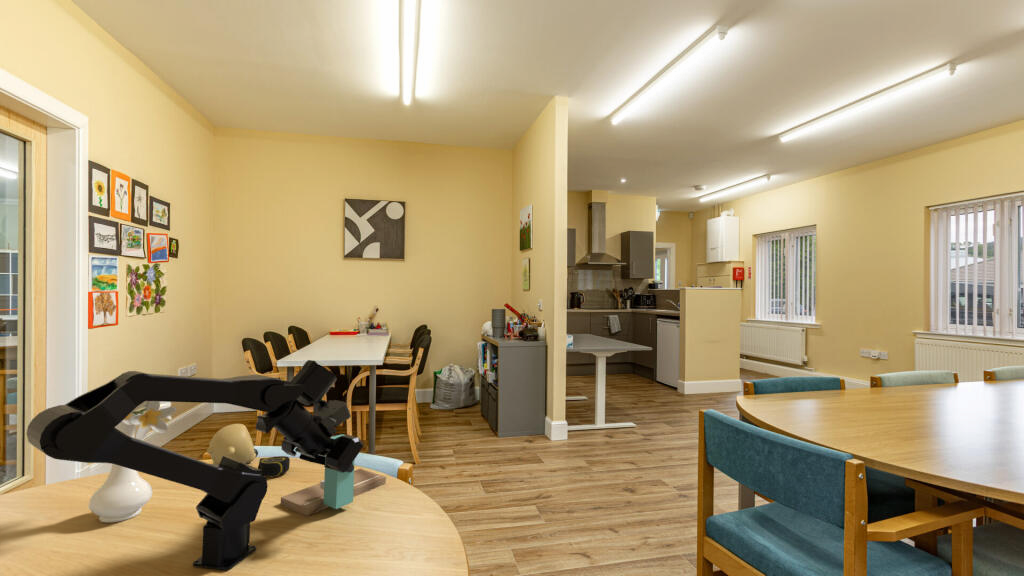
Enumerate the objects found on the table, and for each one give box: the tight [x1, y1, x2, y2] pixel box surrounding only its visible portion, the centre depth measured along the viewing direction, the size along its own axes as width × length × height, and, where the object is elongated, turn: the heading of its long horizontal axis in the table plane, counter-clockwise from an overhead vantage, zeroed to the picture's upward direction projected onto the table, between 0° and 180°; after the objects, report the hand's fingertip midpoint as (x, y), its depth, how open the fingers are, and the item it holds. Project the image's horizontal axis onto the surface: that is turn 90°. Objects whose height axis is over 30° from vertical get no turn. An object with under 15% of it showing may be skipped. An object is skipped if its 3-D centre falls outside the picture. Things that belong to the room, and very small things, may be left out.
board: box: [280, 468, 387, 517], centre depth 100 cm, size 20×9×2 cm, turn 147°
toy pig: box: [206, 423, 259, 464], centre depth 115 cm, size 10×12×11 cm
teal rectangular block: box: [319, 433, 356, 510], centre depth 93 cm, size 4×7×13 cm, turn 57°
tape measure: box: [257, 455, 291, 478], centre depth 110 cm, size 7×7×4 cm
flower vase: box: [88, 401, 177, 524], centre depth 88 cm, size 13×18×25 cm
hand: (345, 467), depth 93 cm, fingers closed on teal rectangular block, 4 cm apart
